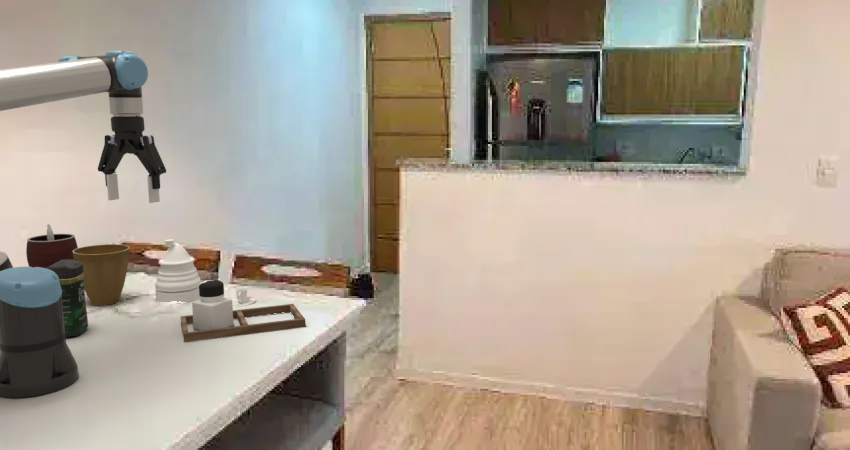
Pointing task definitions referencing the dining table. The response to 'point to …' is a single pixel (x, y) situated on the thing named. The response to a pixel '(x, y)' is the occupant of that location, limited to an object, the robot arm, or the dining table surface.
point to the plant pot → (103, 271)
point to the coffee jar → (72, 295)
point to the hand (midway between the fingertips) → (133, 201)
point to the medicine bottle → (212, 307)
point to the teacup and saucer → (242, 296)
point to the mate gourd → (50, 248)
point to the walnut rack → (244, 326)
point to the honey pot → (177, 276)
